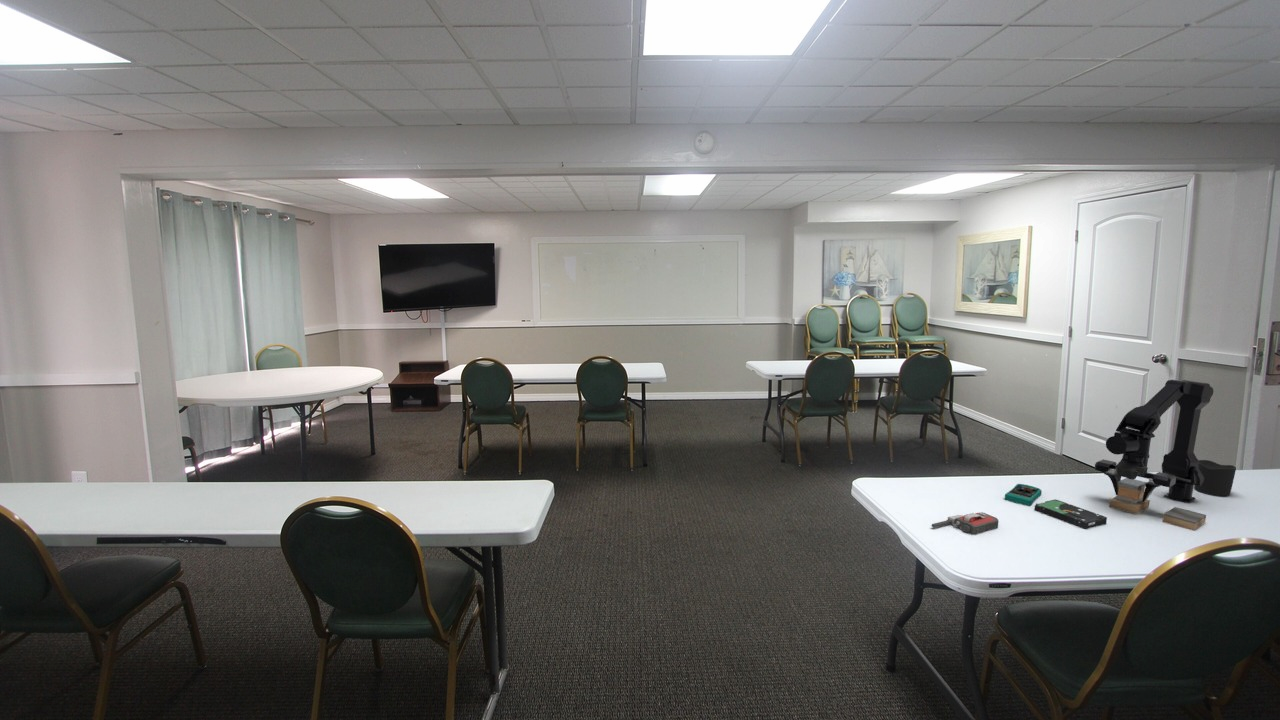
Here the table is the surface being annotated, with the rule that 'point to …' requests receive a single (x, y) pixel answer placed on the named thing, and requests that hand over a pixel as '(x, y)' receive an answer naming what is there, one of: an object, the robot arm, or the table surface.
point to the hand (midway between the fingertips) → (1130, 498)
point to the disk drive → (1071, 514)
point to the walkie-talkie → (971, 522)
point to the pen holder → (1216, 478)
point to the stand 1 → (1129, 506)
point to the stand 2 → (1184, 518)
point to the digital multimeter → (1023, 494)
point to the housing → (1131, 491)
